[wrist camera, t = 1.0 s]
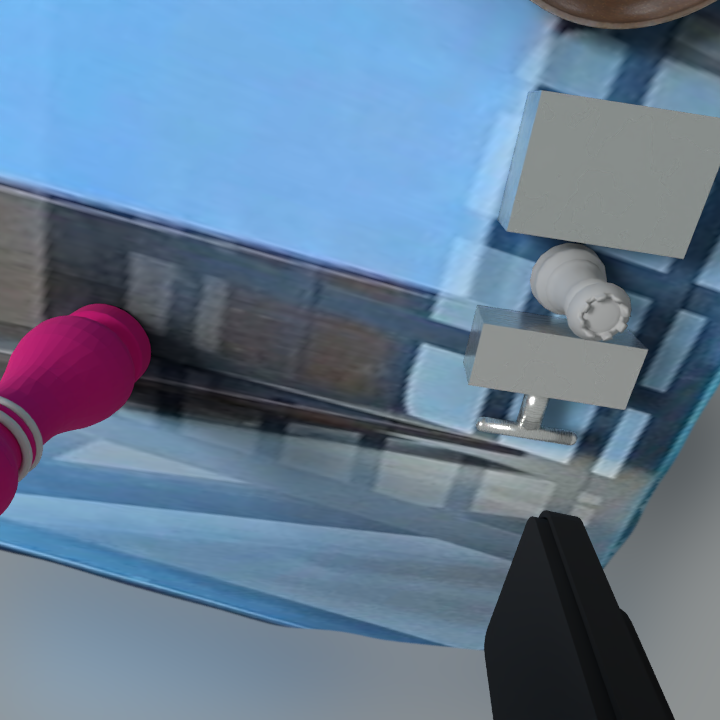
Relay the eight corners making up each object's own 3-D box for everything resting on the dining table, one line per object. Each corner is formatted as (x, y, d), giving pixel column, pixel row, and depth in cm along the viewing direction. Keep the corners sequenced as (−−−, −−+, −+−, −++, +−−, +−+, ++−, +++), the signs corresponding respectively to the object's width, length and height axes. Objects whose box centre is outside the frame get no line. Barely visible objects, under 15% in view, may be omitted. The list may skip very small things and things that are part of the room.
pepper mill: (179, 357, 40) (-7, 562, 22) (110, 405, 42) (-111, 629, 24) (107, 276, 38) (-163, 429, 20) (39, 331, 40) (-263, 515, 22)
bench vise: (528, 92, 32) (541, 90, 29) (704, 119, 32) (737, 120, 29) (451, 413, 41) (454, 439, 37) (588, 435, 40) (604, 463, 37)
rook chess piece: (513, 280, 36) (540, 323, 29) (565, 226, 35) (608, 257, 27) (563, 322, 37) (601, 374, 30) (615, 271, 36) (669, 313, 28)
